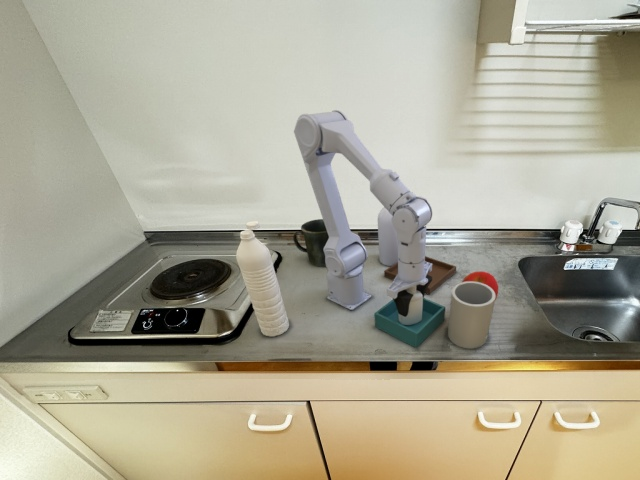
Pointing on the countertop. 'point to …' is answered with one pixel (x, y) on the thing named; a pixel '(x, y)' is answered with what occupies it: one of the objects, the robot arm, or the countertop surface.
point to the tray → (438, 273)
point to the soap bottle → (387, 239)
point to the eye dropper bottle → (413, 308)
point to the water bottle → (261, 283)
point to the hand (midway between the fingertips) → (410, 308)
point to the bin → (410, 333)
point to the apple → (483, 280)
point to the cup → (470, 314)
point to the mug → (313, 241)
